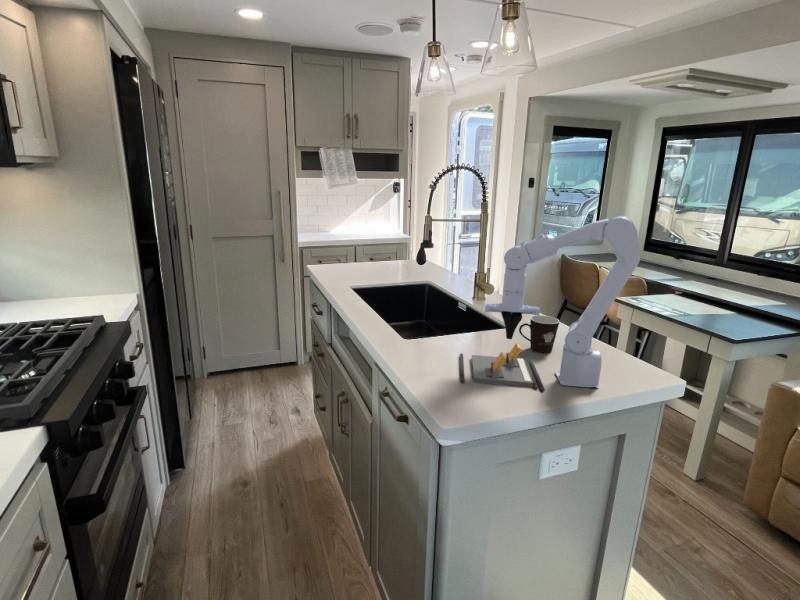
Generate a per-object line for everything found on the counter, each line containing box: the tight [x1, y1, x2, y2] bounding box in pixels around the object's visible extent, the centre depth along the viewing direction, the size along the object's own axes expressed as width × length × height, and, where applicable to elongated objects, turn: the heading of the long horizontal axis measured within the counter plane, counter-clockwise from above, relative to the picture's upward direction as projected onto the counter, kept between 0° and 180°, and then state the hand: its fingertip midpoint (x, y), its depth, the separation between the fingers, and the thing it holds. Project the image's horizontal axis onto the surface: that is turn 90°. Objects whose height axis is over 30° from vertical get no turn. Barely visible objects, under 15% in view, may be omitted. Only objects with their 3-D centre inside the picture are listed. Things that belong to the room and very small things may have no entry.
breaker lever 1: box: [492, 351, 507, 370], centre depth 121 cm, size 1×4×5 cm, turn 174°
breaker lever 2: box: [508, 342, 523, 360], centre depth 129 cm, size 1×4×5 cm, turn 173°
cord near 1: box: [528, 359, 546, 392], centre depth 124 cm, size 1×19×1 cm, turn 173°
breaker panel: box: [471, 351, 534, 388], centre depth 126 cm, size 15×16×3 cm
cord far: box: [459, 352, 466, 384], centre depth 127 cm, size 1×19×1 cm, turn 174°
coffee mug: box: [518, 314, 560, 355], centre depth 143 cm, size 12×9×10 cm
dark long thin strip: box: [525, 360, 539, 390], centre depth 124 cm, size 1×17×1 cm, turn 173°
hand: (508, 337), depth 128 cm, fingers closed
